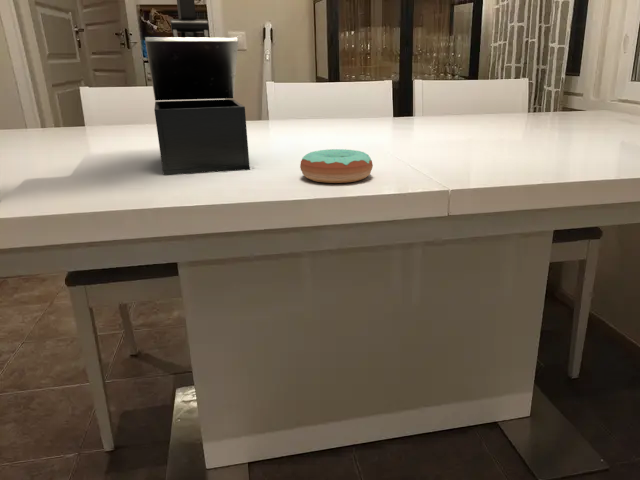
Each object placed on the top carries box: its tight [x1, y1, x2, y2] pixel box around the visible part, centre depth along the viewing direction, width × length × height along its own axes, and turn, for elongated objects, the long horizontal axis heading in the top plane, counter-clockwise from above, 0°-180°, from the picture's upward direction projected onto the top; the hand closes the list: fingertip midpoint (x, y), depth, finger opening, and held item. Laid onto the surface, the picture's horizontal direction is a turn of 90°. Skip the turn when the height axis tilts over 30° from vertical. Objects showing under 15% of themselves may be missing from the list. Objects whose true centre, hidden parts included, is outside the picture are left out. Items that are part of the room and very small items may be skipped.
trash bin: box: [153, 98, 251, 176], centre depth 102 cm, size 17×15×11 cm
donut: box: [299, 148, 374, 184], centre depth 92 cm, size 12×12×4 cm
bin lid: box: [144, 18, 239, 102], centre depth 99 cm, size 18×15×6 cm
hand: (192, 70), depth 101 cm, fingers closed
